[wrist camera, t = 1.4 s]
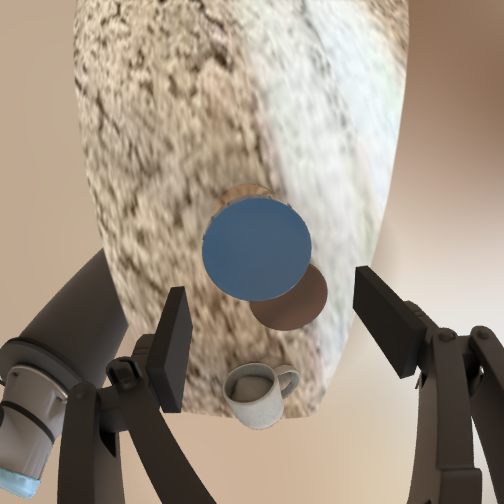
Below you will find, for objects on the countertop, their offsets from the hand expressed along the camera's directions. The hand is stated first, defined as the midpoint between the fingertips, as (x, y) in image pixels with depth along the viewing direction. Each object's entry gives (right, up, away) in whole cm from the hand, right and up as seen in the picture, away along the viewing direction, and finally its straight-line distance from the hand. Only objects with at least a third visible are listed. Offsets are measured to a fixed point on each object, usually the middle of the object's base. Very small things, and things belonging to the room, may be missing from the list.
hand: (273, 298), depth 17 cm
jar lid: (-1, +3, +7) cm, 8 cm away
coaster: (+3, -3, +21) cm, 22 cm away
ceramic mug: (0, -16, +26) cm, 31 cm away
